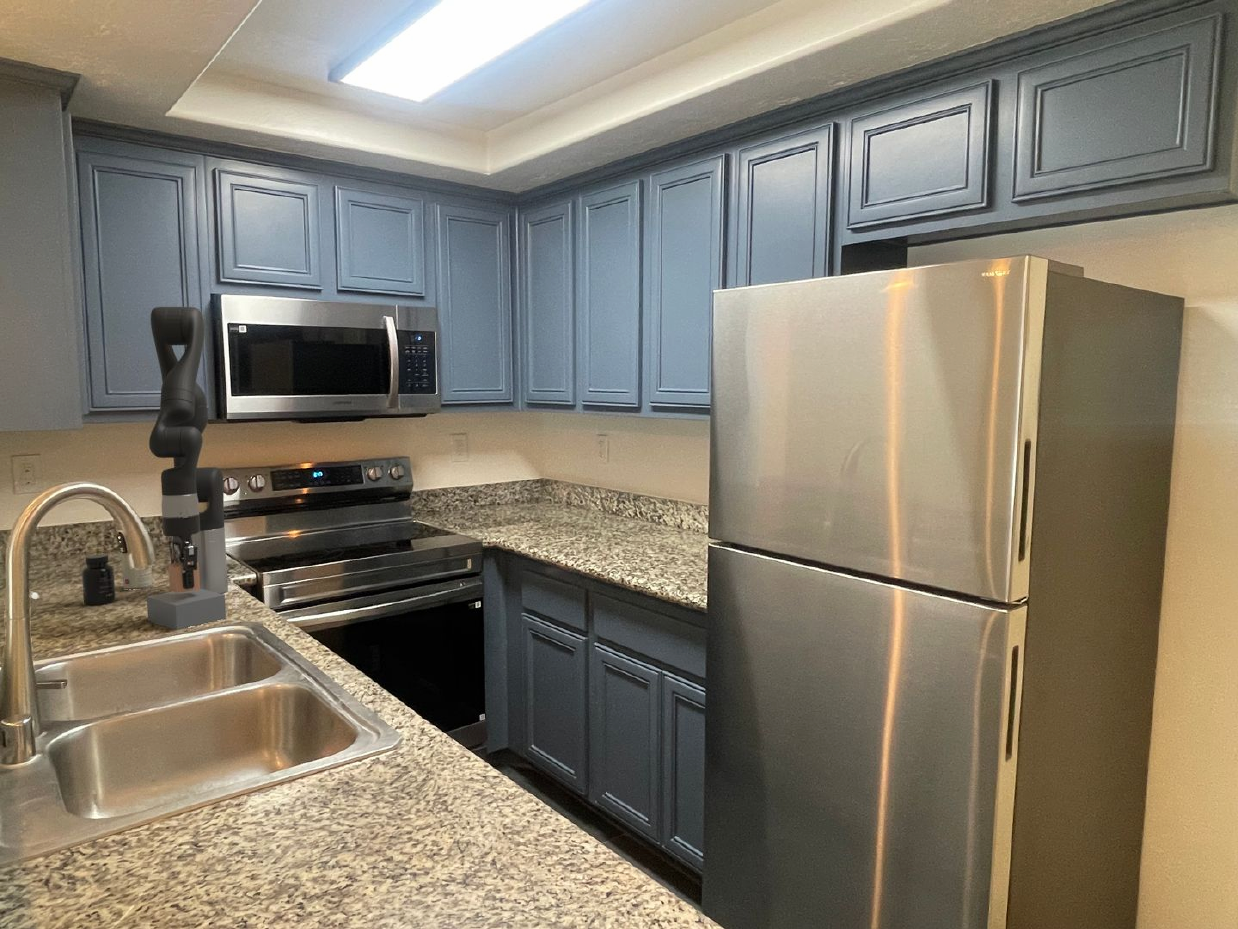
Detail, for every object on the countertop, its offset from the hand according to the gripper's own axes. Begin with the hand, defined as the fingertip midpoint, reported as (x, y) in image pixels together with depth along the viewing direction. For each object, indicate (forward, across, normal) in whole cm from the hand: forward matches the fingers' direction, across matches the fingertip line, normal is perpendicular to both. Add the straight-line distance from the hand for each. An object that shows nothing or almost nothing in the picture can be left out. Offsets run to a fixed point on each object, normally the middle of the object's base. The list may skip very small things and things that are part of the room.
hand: (185, 586), depth 185 cm
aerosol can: (+8, -45, 0) cm, 46 cm away
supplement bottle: (+8, -34, -11) cm, 37 cm away
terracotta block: (+1, 0, 0) cm, 1 cm away
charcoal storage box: (+8, 0, 0) cm, 8 cm away
